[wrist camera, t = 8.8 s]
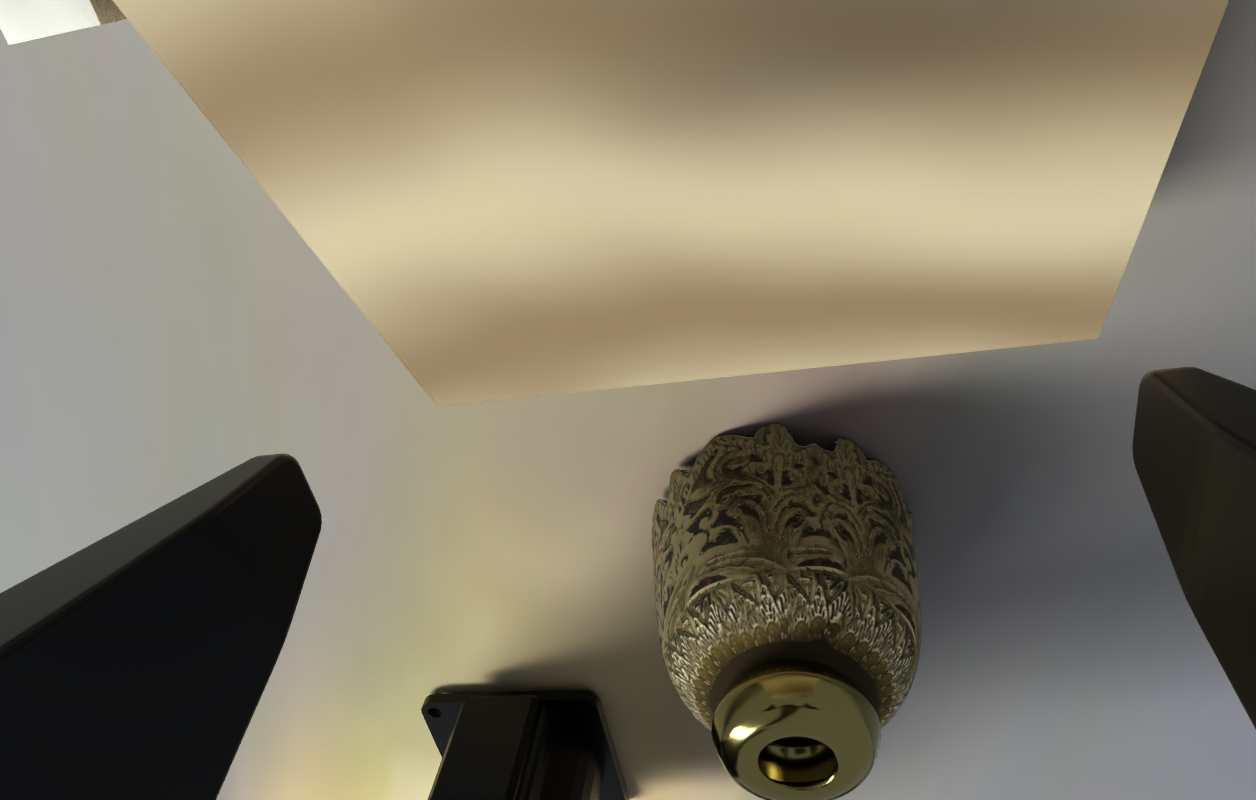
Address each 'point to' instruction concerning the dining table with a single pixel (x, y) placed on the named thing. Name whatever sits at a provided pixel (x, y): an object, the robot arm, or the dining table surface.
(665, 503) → the bronze domed piece
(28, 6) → the trapdoor frame
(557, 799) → the robot arm
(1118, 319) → the dining table surface
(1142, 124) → the trapdoor
